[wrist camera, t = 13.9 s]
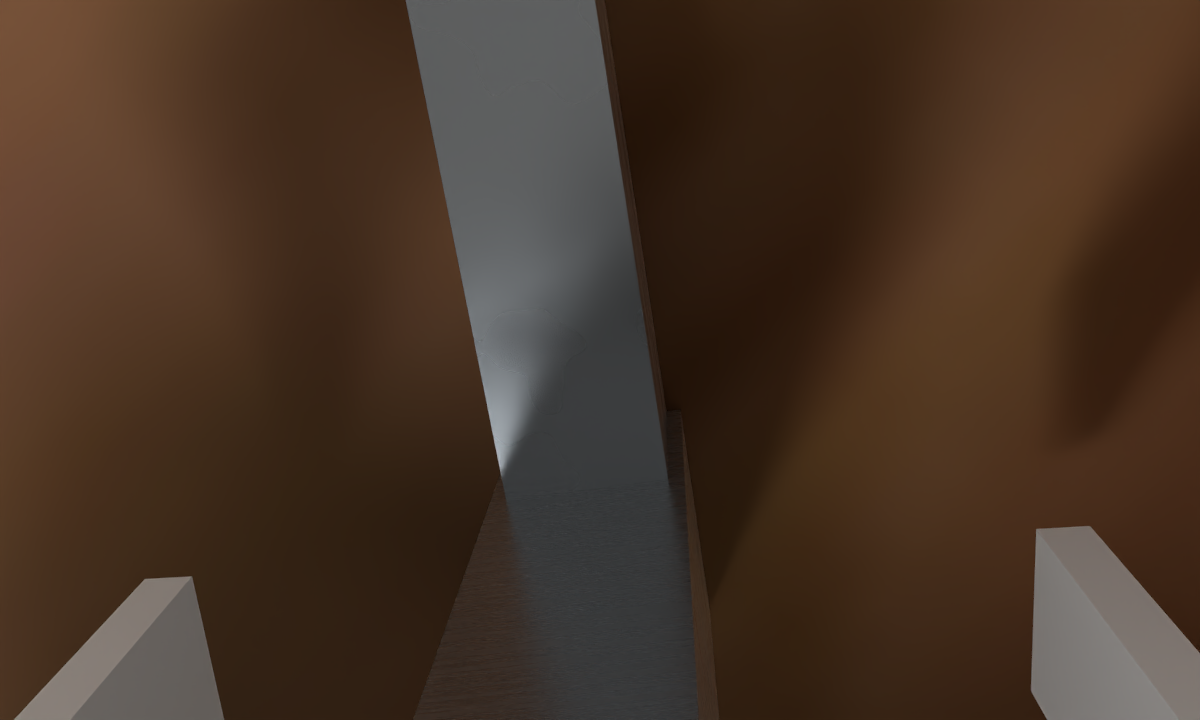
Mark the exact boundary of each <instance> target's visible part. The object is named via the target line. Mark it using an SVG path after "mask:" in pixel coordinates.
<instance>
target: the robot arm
mask: <svg viewBox="0 0 1200 720" xmlns="http://www.w3.org/2000/svg"><path fill="white" fill-rule="evenodd" d="M1031 692H1032V694H1033V696H1034V697H1035V699H1036V701H1037V703H1038V704H1039V706H1040V708H1041V710H1042V712H1043V713H1044V715H1045V717H1046V719H1047V720H1200V653H1199V652H1198V650H1197V649H1196V648H1195V647H1194V646H1193V645H1192V644H1191V642H1190V641H1189V640H1188V639H1187V638H1186V637H1185V635H1184V634H1183V633H1182V632H1181V631H1180V630H1179V628H1178V627H1177V626H1176V625H1175V624H1174V623H1173V622H1172V620H1171V619H1170V618H1169V617H1168V616H1167V615H1166V613H1165V612H1164V611H1163V610H1162V609H1161V608H1160V606H1159V605H1158V604H1157V603H1156V602H1155V601H1154V600H1153V598H1152V597H1151V596H1150V595H1149V594H1148V593H1147V591H1146V590H1145V589H1144V588H1143V587H1142V586H1141V584H1140V583H1139V582H1138V581H1137V580H1136V579H1135V578H1134V576H1133V575H1132V574H1131V573H1130V572H1129V571H1128V569H1127V568H1126V567H1125V566H1124V565H1123V564H1122V562H1121V561H1120V560H1119V559H1118V558H1117V557H1116V556H1115V554H1114V553H1113V552H1112V551H1111V550H1110V549H1109V547H1108V546H1107V545H1106V544H1105V543H1104V542H1103V540H1102V539H1101V538H1100V537H1099V536H1098V535H1097V533H1096V532H1095V531H1094V530H1093V529H1092V528H1091V527H1090V526H1080V527H1062V528H1045V529H1036V552H1035V583H1034V614H1033V644H1032V675H1031ZM14 720H224V717H223V712H222V708H221V703H220V699H219V695H218V690H217V686H216V681H215V677H214V672H213V668H212V663H211V659H210V654H209V650H208V645H207V641H206V636H205V632H204V628H203V623H202V619H201V614H200V610H199V605H198V601H197V596H196V592H195V587H194V583H193V578H192V576H190V577H172V578H154V579H144V580H143V581H142V583H141V584H140V585H139V586H138V587H137V588H136V589H135V590H134V591H133V592H132V593H131V594H130V595H129V597H128V598H127V599H126V600H125V601H124V602H123V603H122V604H121V605H120V606H119V607H118V608H117V609H116V611H115V612H114V613H113V614H112V615H111V616H110V617H109V618H108V619H107V620H106V621H105V622H104V623H103V624H102V626H101V627H100V628H99V629H98V630H97V631H96V632H95V633H94V634H93V635H92V636H91V637H90V638H89V640H88V641H87V642H86V643H85V644H84V645H83V646H82V647H81V648H80V649H79V650H78V651H77V652H76V653H75V655H74V656H73V657H72V658H71V659H70V660H69V661H68V662H67V663H66V664H65V665H64V666H63V667H62V669H61V670H60V671H59V672H58V673H57V674H56V675H55V676H54V677H53V678H52V679H51V680H50V681H49V683H48V684H47V685H46V686H45V687H44V688H43V689H42V690H41V691H40V692H39V693H38V694H37V695H36V696H35V698H34V699H33V700H32V701H31V702H30V703H29V704H28V705H27V706H26V707H25V708H24V709H23V710H22V712H21V713H20V714H19V715H18V716H17V717H16V718H15V719H14Z"/></svg>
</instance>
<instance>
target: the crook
mask: <svg viewBox="0 0 1200 720" xmlns="http://www.w3.org/2000/svg"><path fill="white" fill-rule="evenodd" d="M406 4H407V9H408V14H409V19H410V24H411V29H412V34H413V39H414V44H415V49H416V54H417V59H418V64H419V69H420V74H421V79H422V84H423V89H424V94H425V99H426V104H427V109H428V114H429V119H430V124H431V129H432V134H433V139H434V144H435V149H436V154H437V159H438V164H439V169H440V174H441V178H442V183H443V188H444V193H445V198H446V203H447V208H448V213H449V218H450V223H451V228H452V233H453V238H454V243H455V248H456V253H457V258H458V263H459V268H460V273H461V278H462V283H463V288H464V293H465V298H466V303H467V308H468V313H469V318H470V323H471V328H472V333H473V338H474V343H475V348H476V353H477V358H478V362H479V367H480V372H481V377H482V382H483V387H484V392H485V397H486V402H487V407H488V412H489V417H490V422H491V427H492V432H493V437H494V442H495V447H496V452H497V457H498V462H499V467H500V472H501V473H500V475H499V478H498V481H497V484H496V487H495V490H494V492H493V495H492V498H491V501H490V504H489V506H488V509H487V512H486V515H485V518H484V521H483V523H482V526H481V529H480V532H479V535H478V538H477V540H476V543H475V546H474V549H473V552H472V554H471V557H470V560H469V563H468V566H467V569H466V571H465V574H464V577H463V580H462V583H461V585H460V588H459V591H458V594H457V597H456V600H455V602H454V605H453V608H452V611H451V614H450V617H449V619H448V622H447V625H446V628H445V631H444V633H443V636H442V639H441V642H440V645H439V648H438V650H437V653H436V656H435V659H434V662H433V665H432V667H431V670H430V673H429V676H428V679H427V681H426V684H425V687H424V690H423V693H422V696H421V698H420V701H419V704H418V707H417V710H416V712H415V715H414V718H413V720H719V708H718V697H717V686H716V674H715V663H714V652H713V640H712V629H711V618H710V607H709V600H708V593H707V586H706V580H705V573H704V566H703V559H702V552H701V545H700V538H699V532H698V525H697V518H696V511H695V504H694V497H693V491H692V484H691V477H690V470H689V463H688V456H687V449H686V443H685V436H684V429H683V422H682V415H681V410H673V411H667V410H666V404H665V397H664V390H663V384H662V377H661V370H660V364H659V357H658V350H657V344H656V337H655V330H654V324H653V317H652V310H651V304H650V297H649V290H648V284H647V277H646V270H645V264H644V257H643V250H642V244H641V237H640V230H639V224H638V217H637V210H636V204H635V197H634V190H633V184H632V177H631V170H630V164H629V157H628V150H627V144H626V137H625V130H624V124H623V117H622V110H621V104H620V97H619V91H618V84H617V77H616V71H615V64H614V57H613V51H612V44H611V37H610V31H609V24H608V17H607V11H606V4H605V0H406Z"/></svg>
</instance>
